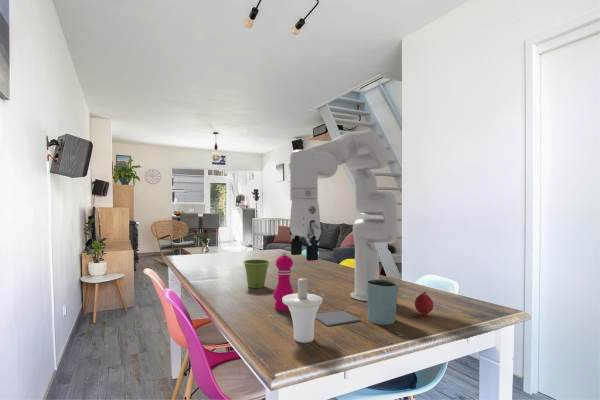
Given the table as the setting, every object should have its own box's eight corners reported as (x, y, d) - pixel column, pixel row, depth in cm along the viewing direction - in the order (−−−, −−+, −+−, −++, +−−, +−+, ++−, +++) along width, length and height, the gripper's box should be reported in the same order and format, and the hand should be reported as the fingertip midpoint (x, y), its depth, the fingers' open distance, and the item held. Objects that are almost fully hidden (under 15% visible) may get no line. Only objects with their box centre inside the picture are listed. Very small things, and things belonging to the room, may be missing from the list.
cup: (327, 340, 89) (327, 302, 89) (298, 348, 83) (299, 308, 84) (307, 329, 96) (308, 295, 96) (280, 336, 91) (280, 300, 91)
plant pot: (239, 289, 143) (239, 263, 143) (247, 283, 155) (248, 258, 155) (265, 290, 141) (266, 264, 141) (272, 284, 153) (272, 259, 153)
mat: (342, 311, 113) (342, 310, 113) (360, 321, 104) (360, 319, 104) (311, 316, 108) (311, 314, 108) (327, 326, 99) (327, 324, 99)
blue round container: (363, 314, 111) (363, 278, 111) (393, 315, 110) (394, 279, 111) (368, 325, 101) (369, 285, 101) (402, 326, 100) (402, 286, 101)
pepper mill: (291, 311, 112) (292, 253, 113) (270, 310, 114) (271, 252, 114) (295, 305, 120) (296, 250, 120) (276, 304, 121) (277, 249, 121)
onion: (424, 319, 107) (424, 294, 107) (410, 314, 112) (411, 290, 112) (437, 316, 109) (437, 292, 110) (423, 312, 114) (423, 288, 115)
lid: (310, 294, 97) (311, 274, 98) (330, 304, 87) (330, 281, 88) (276, 298, 93) (276, 276, 93) (292, 309, 83) (292, 285, 83)
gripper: (331, 194, 85) (332, 261, 85) (302, 195, 100) (302, 252, 100) (305, 194, 81) (305, 264, 81) (279, 195, 97) (279, 253, 97)
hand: (303, 257), depth 91 cm, fingers open, 9 cm apart
